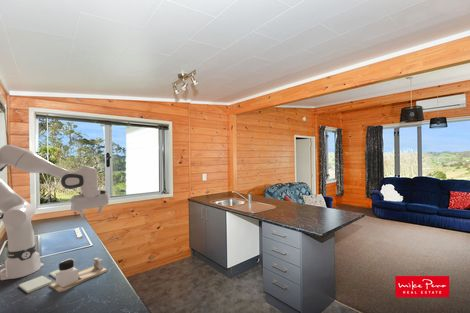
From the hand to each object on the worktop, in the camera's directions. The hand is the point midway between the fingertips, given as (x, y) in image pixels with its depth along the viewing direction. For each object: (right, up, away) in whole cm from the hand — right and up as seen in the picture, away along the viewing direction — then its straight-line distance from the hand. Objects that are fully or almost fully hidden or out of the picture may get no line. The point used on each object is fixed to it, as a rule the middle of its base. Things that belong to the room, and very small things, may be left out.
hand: (91, 215), depth 141 cm
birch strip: (+5, -29, -18) cm, 35 cm away
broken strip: (-11, -30, -18) cm, 36 cm away
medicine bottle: (+3, -29, -23) cm, 38 cm away
